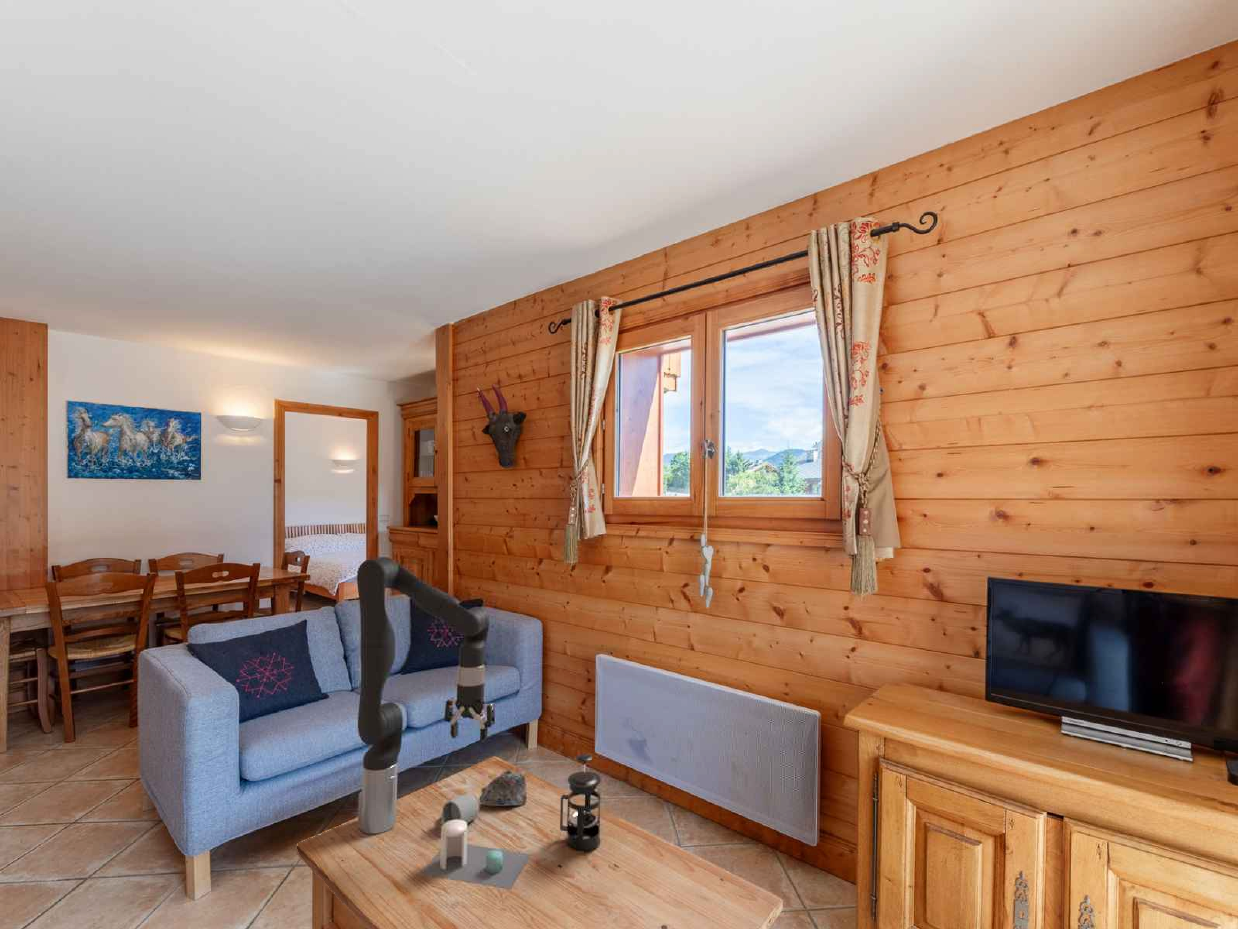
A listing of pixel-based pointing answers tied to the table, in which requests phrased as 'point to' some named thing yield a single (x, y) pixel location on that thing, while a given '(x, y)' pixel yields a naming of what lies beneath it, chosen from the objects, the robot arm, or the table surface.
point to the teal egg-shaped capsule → (494, 862)
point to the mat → (479, 867)
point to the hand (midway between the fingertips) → (468, 739)
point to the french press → (582, 810)
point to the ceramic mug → (461, 808)
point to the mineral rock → (505, 790)
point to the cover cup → (453, 841)
